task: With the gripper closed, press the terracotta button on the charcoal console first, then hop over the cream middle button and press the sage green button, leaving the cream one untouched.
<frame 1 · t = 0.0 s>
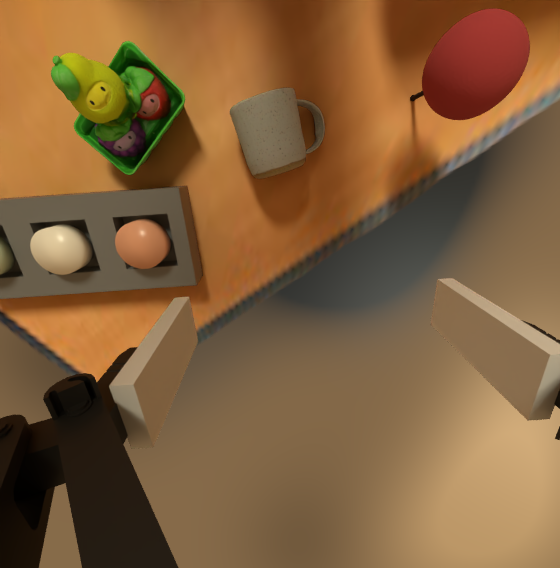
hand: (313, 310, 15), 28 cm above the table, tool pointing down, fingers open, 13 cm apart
fruit basket: (143, 116, 36), on the table
cream button: (62, 249, 37), point 5 cm above the table, slide at 0.0 cm
terracotta button: (143, 243, 37), point 5 cm above the table, slide at 0.0 cm
console: (84, 240, 42), on the table
ceramic mug: (280, 133, 37), on the table
lollipop: (413, 97, 36), on the table
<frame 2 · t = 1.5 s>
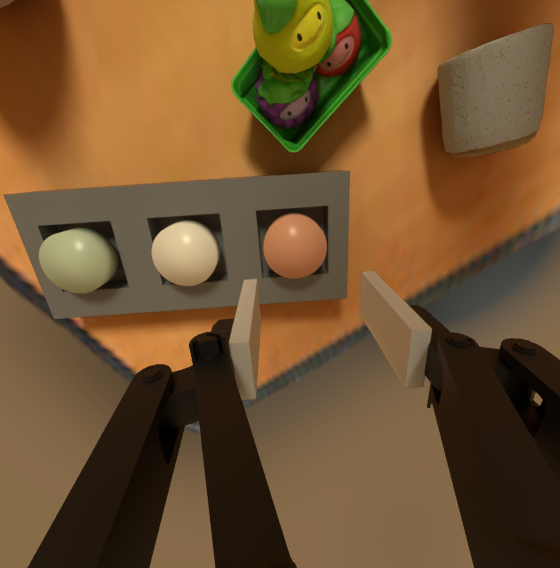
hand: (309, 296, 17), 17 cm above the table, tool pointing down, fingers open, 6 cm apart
sage button: (80, 260, 28), point 5 cm above the table, slide at 0.0 cm
fruit basket: (298, 77, 27), on the table
cream button: (187, 252, 28), point 5 cm above the table, slide at 0.0 cm
terracotta button: (294, 245, 28), point 5 cm above the table, slide at 0.0 cm
console: (198, 241, 33), on the table
ceramic mug: (475, 100, 29), on the table
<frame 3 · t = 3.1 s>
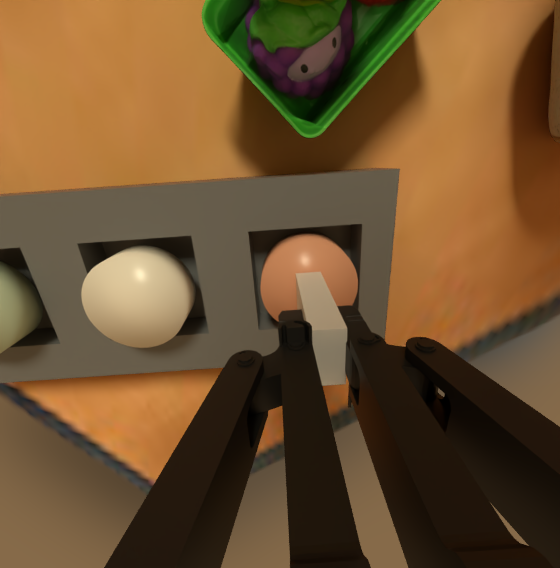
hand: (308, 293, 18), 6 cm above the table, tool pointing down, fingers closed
fruit basket: (316, 19, 17), on the table
cream button: (143, 296, 18), point 5 cm above the table, slide at 0.0 cm
terracotta button: (307, 281, 19), point 4 cm above the table, slide at 0.7 cm, touching gripper
console: (167, 271, 23), on the table
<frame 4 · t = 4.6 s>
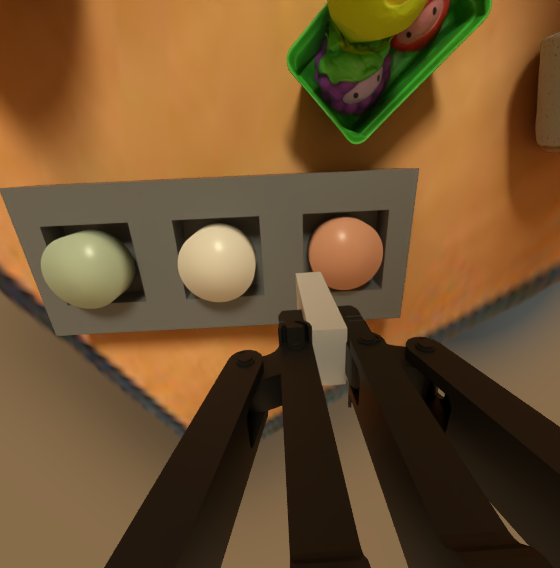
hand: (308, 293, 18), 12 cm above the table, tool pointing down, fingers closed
sage button: (91, 269, 24), point 5 cm above the table, slide at 0.0 cm
fruit basket: (358, 55, 23), on the table
cream button: (219, 262, 24), point 5 cm above the table, slide at 0.0 cm
terracotta button: (343, 252, 25), point 4 cm above the table, slide at 1.2 cm
console: (227, 247, 28), on the table
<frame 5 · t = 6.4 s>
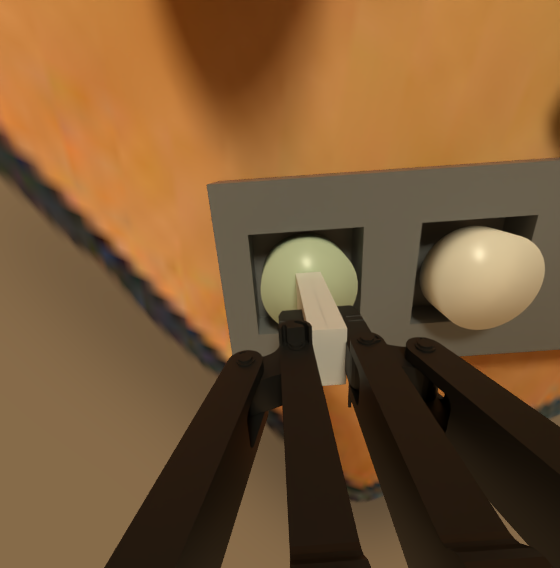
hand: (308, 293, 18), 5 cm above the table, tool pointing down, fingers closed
sage button: (307, 282, 19), point 4 cm above the table, slide at 1.1 cm, touching gripper
cream button: (477, 277, 18), point 5 cm above the table, slide at 0.0 cm
console: (436, 255, 22), on the table
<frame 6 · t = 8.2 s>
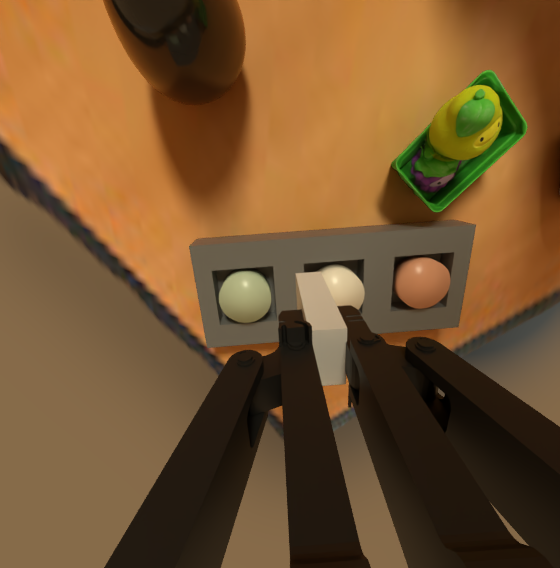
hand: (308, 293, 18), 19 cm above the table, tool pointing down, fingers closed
sage button: (245, 295, 34), point 4 cm above the table, slide at 1.2 cm
fruit basket: (429, 147, 33), on the table
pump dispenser: (196, 54, 29), on the table
cream button: (335, 292, 34), point 5 cm above the table, slide at 0.0 cm
terracotta button: (419, 281, 35), point 4 cm above the table, slide at 1.2 cm
console: (327, 278, 38), on the table
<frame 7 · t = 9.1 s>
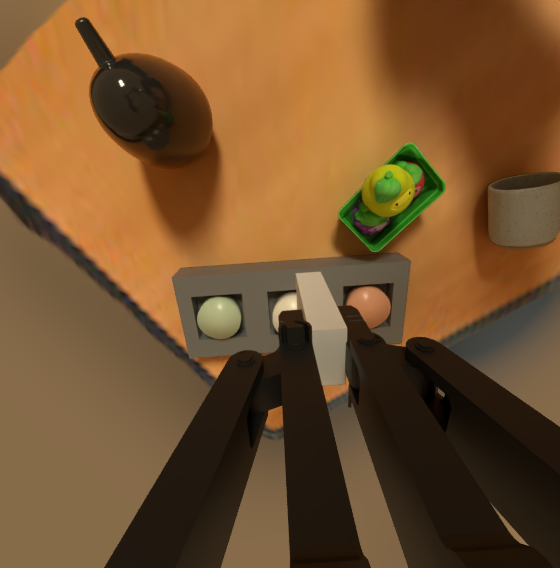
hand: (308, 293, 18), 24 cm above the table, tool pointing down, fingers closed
sage button: (220, 316, 41), point 4 cm above the table, slide at 1.2 cm
fruit basket: (374, 194, 39), on the table
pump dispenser: (176, 123, 36), on the table
cream button: (294, 315, 40), point 5 cm above the table, slide at 0.0 cm
terracotta button: (366, 305, 41), point 4 cm above the table, slide at 1.2 cm
console: (291, 300, 45), on the table
ceramic mug: (510, 202, 40), on the table
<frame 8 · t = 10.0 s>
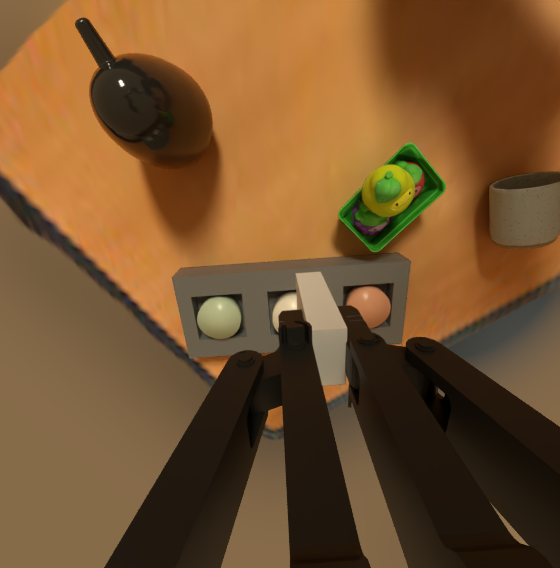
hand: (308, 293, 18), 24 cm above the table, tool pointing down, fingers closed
sage button: (220, 316, 41), point 4 cm above the table, slide at 1.2 cm
fruit basket: (374, 194, 39), on the table
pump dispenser: (176, 123, 36), on the table
cream button: (294, 315, 40), point 5 cm above the table, slide at 0.0 cm
terracotta button: (366, 305, 41), point 4 cm above the table, slide at 1.2 cm
console: (291, 300, 45), on the table
ceramic mug: (512, 202, 40), on the table
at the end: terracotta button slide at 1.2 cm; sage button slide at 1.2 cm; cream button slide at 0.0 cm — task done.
